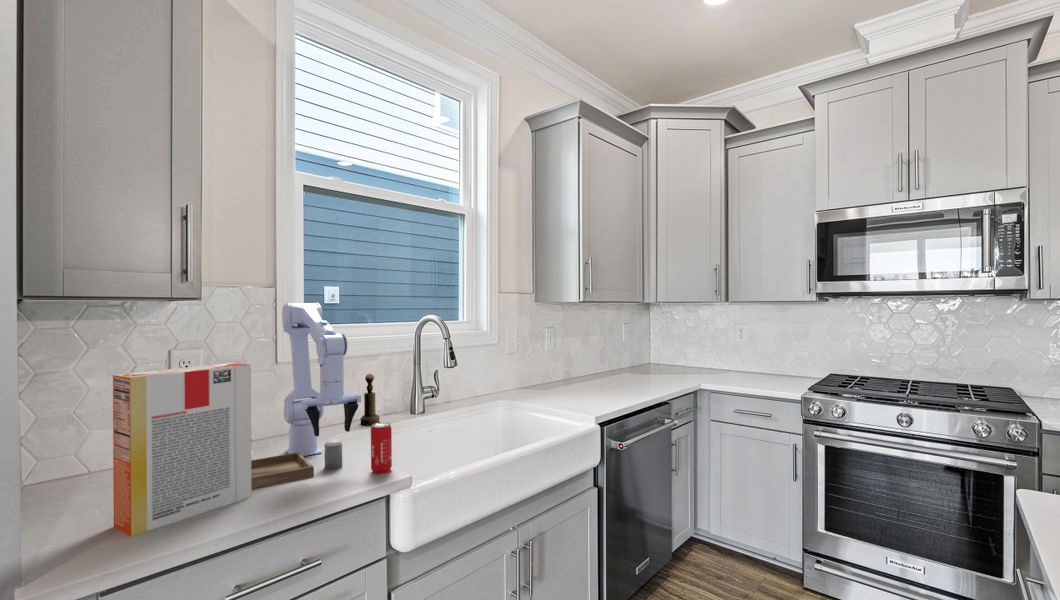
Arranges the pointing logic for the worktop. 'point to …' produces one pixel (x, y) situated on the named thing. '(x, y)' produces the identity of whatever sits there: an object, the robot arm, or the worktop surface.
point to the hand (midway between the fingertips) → (332, 433)
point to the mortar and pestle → (369, 404)
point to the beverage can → (381, 448)
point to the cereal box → (180, 443)
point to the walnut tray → (279, 469)
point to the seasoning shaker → (333, 454)
